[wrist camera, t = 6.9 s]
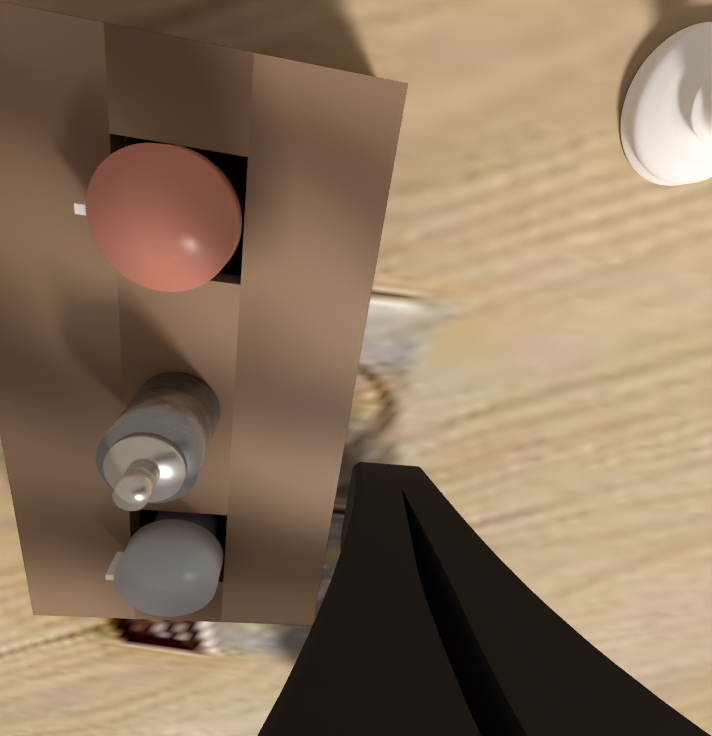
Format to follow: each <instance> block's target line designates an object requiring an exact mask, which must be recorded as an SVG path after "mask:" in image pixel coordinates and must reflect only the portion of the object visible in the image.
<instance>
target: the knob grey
mask: <svg viewBox="0 0 712 736" xmlns="http://www.w3.org/2000/svg"><path fill="white" fill-rule="evenodd" d="M220 518H221V515H216V514H201V513H187V512H172V511H158V514H157V516H156V518H155V520H154V522H152V523H149V524H147V525H145V526H143V527H142V528H140V529H139V530H137V531H136V532H135V533H134V534H133V536H132V537H131V539H130V541H129V543H128V545H127V547H126V549H125V551H124V552H117V553H116V555H115V557H114V559H113V561H112V563H111V565H110V567H109V569H108V571H107V573H106V575H105V576H106V580H114V584H115V587H116V590H117V592H118V594H119V595H120V596H121V597H122V599H123V600H124V601H125V602H127V603H128V604H129V605H130V606H132V607H134V608H135V609H137V610H140V611H142V612H145V613H147V614H151V615H156V616H163V617H176V616H183V615H187V614H191V613H193V612H196V611H198V610H200V609H202V608H203V607H204V606H206V605H207V604H208V603H209V602H210V601H211V600H212V598H213V596H214V595H215V592H216V589H217V585H218V580H219V576H220V572H221V568H222V563H223V550H222V547H221V545H220V543H219V541H218V540H217V539H216V533H217V529H218V525H219V522H220Z"/></svg>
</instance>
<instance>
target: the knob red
mask: <svg viewBox="0 0 712 736" xmlns="http://www.w3.org/2000/svg"><path fill="white" fill-rule="evenodd" d="M74 212H75V214H79V215H85V216H87V222H88V225H89V229H90V232H91V235H92V237H93V239H94V241H95V243H96V245H97V247H98V249H99V250H100V252H101V253H102V255H103V256H104V257H105V259H106V260H107V261H108V262H109V263H110V264H111V265H112V266H113V267H114V268H115V269H116V270H117V271H118V272H119V273H121V274H122V275H123V276H125V277H126V278H128V279H129V280H131V281H133V282H135V283H137V284H139V285H141V286H143V287H146V288H149V289H153V290H157V291H163V292H181V291H187V290H191V289H194V288H197V287H199V286H201V285H203V284H205V283H207V282H208V281H210V280H211V279H212V278H213V277H215V276H216V275H217V274H218V273H219V272H220V270H221V269H222V268H223V267H224V266H225V265H226V263H227V262H228V261H229V260H230V258H231V257H232V256H233V254H234V252H235V251H236V248H237V246H238V244H239V240H240V236H241V230H242V218H243V214H244V197H243V193H242V191H241V188H240V187H239V185H238V183H237V182H236V180H235V179H234V178H233V177H232V176H231V175H230V174H229V173H228V172H226V171H225V170H223V169H222V168H220V167H217V166H216V165H215V164H214V163H213V162H211V161H210V160H209V159H207V158H206V157H204V156H203V155H201V154H199V153H197V152H196V151H193V150H191V149H188V148H186V147H182V146H178V145H170V144H158V143H139V144H134V145H130V146H127V147H124V148H121V149H119V150H117V151H116V152H114V153H112V154H111V155H110V156H108V157H107V158H106V159H105V160H104V161H103V162H102V163H101V164H100V165H99V166H98V168H97V169H96V171H95V172H94V174H93V176H92V178H91V181H90V183H89V187H88V190H87V196H86V201H83V202H78V203H74Z"/></svg>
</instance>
